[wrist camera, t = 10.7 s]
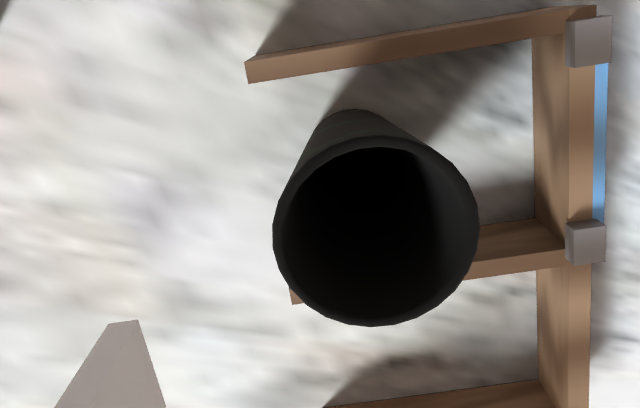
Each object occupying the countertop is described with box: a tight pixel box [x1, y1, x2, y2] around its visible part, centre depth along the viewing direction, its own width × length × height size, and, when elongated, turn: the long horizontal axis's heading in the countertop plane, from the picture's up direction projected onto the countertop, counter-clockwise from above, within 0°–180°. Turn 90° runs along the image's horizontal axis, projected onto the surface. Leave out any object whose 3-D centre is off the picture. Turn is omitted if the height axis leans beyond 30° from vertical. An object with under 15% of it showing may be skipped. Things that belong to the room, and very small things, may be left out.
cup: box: [272, 109, 480, 327], centre depth 25 cm, size 8×8×12 cm
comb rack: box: [244, 5, 612, 408], centre depth 30 cm, size 25×17×6 cm
